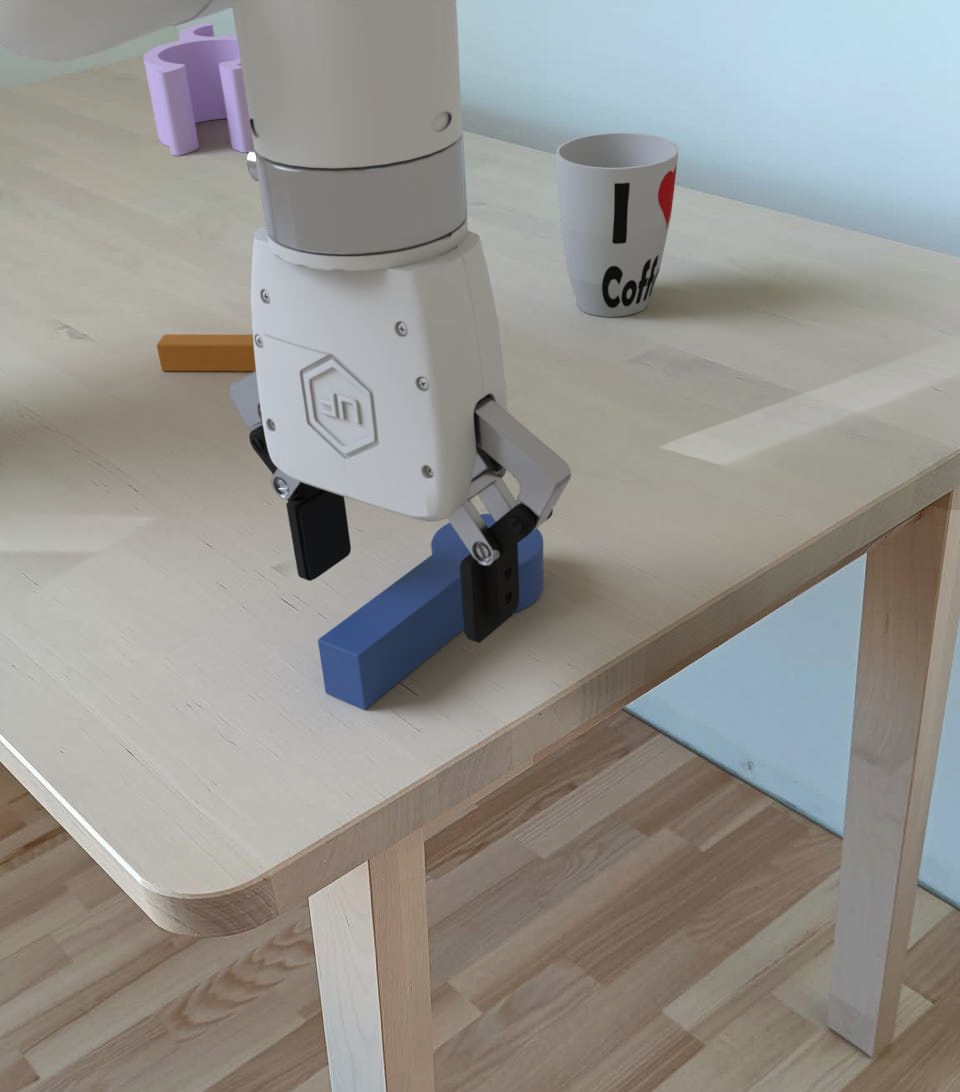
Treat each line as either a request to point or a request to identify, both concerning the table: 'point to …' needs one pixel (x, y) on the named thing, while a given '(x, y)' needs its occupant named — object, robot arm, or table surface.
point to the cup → (615, 217)
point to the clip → (198, 88)
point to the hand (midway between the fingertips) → (405, 595)
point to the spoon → (412, 619)
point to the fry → (206, 352)
